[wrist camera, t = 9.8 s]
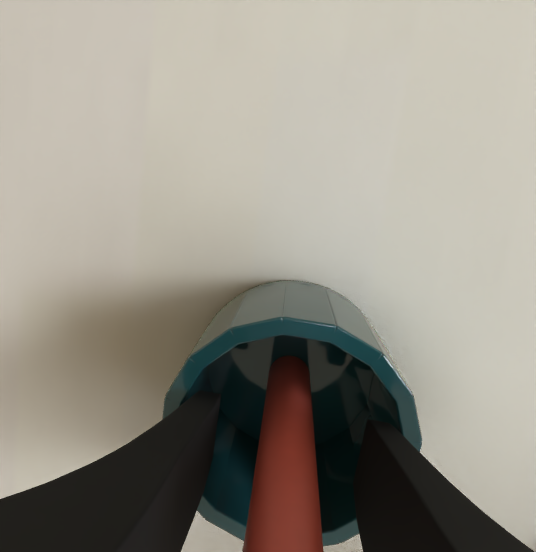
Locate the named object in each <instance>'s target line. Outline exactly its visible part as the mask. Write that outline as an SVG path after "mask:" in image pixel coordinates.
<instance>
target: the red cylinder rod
mask: <svg viewBox="0 0 536 552" xmlns="http://www.w3.org/2000/svg"><path fill="white" fill-rule="evenodd" d="M243 552H323V539H322V527H321V514H320V501H319V488H318V476H317V463H316V450H315V437H314V424H313V412H312V399H311V386H310V373H309V369H308V367H307V365H306V364H305V362H304V361H302V360H301V359H299V358H298V357H295V356H283V357H280V358H278V359H277V360H275V361H274V362H273V364H272V365H271V367H270V370H269V377H268V383H267V390H266V397H265V404H264V410H263V417H262V424H261V431H260V438H259V444H258V451H257V458H256V465H255V472H254V478H253V485H252V492H251V499H250V505H249V512H248V519H247V526H246V533H245V539H244V546H243Z"/></svg>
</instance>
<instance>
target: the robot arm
mask: <svg viewBox="0 0 536 552" xmlns="http://www.w3.org/2000/svg"><path fill="white" fill-rule="evenodd" d="M220 399H221V394H218V393H212V392H206V391H198V392H197V393H195V394H194V395H193V396H192V397H190V398H189V399H188V400H187V401H186V402H184V403H183V404H182V405H181V406H180V407H178V408H177V409H176V410H175V411H173V412H172V413H171V414H169V415H168V416H167V417H165V418H164V419H163V420H161V421H160V422H159V423H157V424H156V425H155V426H153V427H152V428H150V429H149V430H147V431H146V432H144V433H143V434H141V435H140V436H138V437H137V438H135V439H134V440H132V441H131V442H129V443H128V444H126V445H124V446H123V447H121V448H119V449H117V450H116V451H114V452H112V453H110V454H108V455H106V456H104V457H103V458H101V459H99V460H97V461H95V462H93V463H91V464H89V465H86V466H84V467H82V468H80V469H77V470H75V471H73V472H70V473H68V474H66V475H64V476H61V477H59V478H57V479H55V480H52V481H50V482H47V483H45V484H42V485H39V486H37V487H34V488H31V489H29V490H26V491H23V492H20V493H17V494H14V495H11V496H8V497H5V498H2V499H0V552H181V549H182V547H183V544H184V542H185V539H186V537H187V534H188V531H189V529H190V526H191V524H192V521H193V519H194V516H195V513H196V511H197V508H198V506H199V503H200V500H201V498H202V495H203V492H204V489H205V485H206V481H207V478H208V474H209V470H210V466H211V462H212V459H213V452H214V444H215V437H216V429H217V422H218V414H219V407H220ZM353 488H354V500H355V509H356V519H357V524H358V529H359V534H360V539H361V543H362V548H363V552H534V551H533V550H531V549H530V548H529V547H527V546H526V545H525V544H523V543H522V542H521V541H519V540H518V539H517V538H515V537H514V536H513V535H512V534H510V533H509V532H508V531H506V530H505V529H504V528H503V527H501V526H500V525H499V524H498V523H496V522H495V521H494V520H492V519H491V518H490V517H489V516H488V515H486V514H485V513H484V512H483V511H482V510H480V509H479V508H478V507H477V506H476V505H475V504H473V503H472V502H471V501H470V500H469V499H468V498H467V497H466V496H464V495H463V494H462V493H461V492H460V491H459V490H458V489H457V488H456V487H454V486H453V485H452V484H451V483H450V482H449V481H448V480H447V479H446V478H445V477H444V476H443V475H442V474H441V473H440V472H439V471H438V470H437V469H436V468H435V467H434V466H433V465H432V464H431V463H430V462H429V461H428V460H427V459H426V458H425V457H424V456H423V455H422V454H421V453H420V452H419V451H418V450H417V449H416V448H415V447H414V446H413V445H412V444H411V443H410V442H409V441H408V440H407V439H406V438H405V437H404V436H403V435H402V434H401V433H400V432H399V431H398V430H397V429H396V428H395V427H394V426H393V425H391V424H390V423H387V422H381V421H375V420H369V419H367V424H366V428H365V432H364V437H363V441H362V446H361V450H360V454H359V459H358V463H357V468H356V472H355V476H354V481H353Z"/></svg>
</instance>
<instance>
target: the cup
mask: <svg viewBox="0 0 536 552" xmlns="http://www.w3.org/2000/svg"><path fill="white" fill-rule="evenodd" d="M283 356H295V357H298V358H299V359H301V360H302V361H304V362H305V364H306V365H307V367H308V369H309V373H310V386H311V399H312V412H313V424H314V437H315V450H316V463H317V476H318V488H319V501H320V514H321V527H322V539H323V546H329V545H336V544H339V543H343V542H344V541H346V540H348V539H350V538H352V537H354V536H356V535H358V534H359V529H358V524H357V519H356V509H355V500H354V488H353V481H354V476H355V472H356V468H357V463H358V459H359V454H360V450H361V446H362V441H363V437H364V432H365V428H366V424H367V419H369V420H375V421H381V422H387V423H390V424H391V425H393V426H394V427H395V428H396V429H397V430H398V431H399V432H400V433H401V434H402V435H403V436H404V437H405V438H406V439H407V440H408V441H409V442H410V443H411V444H412V445H413V446H414V447H415V448H416V449H417V450H418V451H419V452H420V449H421V445H422V436H421V431H420V426H419V420H418V415H417V410H416V405H415V400H414V396H413V394H412V391H411V390H410V388H409V386H408V384H407V383H406V381H405V379H404V378H403V376H402V374H401V373H400V371H399V369H398V367H397V366H396V364H395V362H394V361H393V359H392V357H391V356H390V354H389V352H388V350H387V349H386V347H385V345H384V344H383V342H382V340H381V338H380V337H379V336H378V334H377V333H376V331H375V330H374V329H373V327H372V326H371V324H370V323H369V321H368V319H367V318H366V317H365V316H364V315H363V313H362V312H361V311H360V310H359V309H358V307H356V306H355V305H354V304H353V303H352V302H350V301H349V300H348V299H346V298H345V297H343V296H342V295H340V294H338V293H337V292H335V291H333V290H331V289H329V288H326V287H323V286H320V285H318V284H313V283H309V282H303V281H277V282H271V283H266V284H263V285H259V286H256V287H254V288H252V289H249V290H247V291H245V292H243V293H242V294H240V295H238V296H237V297H235V298H234V299H233V300H231V301H230V302H229V303H228V304H227V305H225V307H224V308H223V309H221V310H220V311H219V312H218V313H217V314H216V315H215V317H214V319H213V320H212V322H211V323H210V325H209V326H208V328H207V329H206V331H205V332H204V334H203V335H202V337H201V338H200V340H199V341H198V343H197V344H196V346H195V347H194V349H193V350H192V352H191V354H190V355H189V357H188V358H187V360H186V361H185V363H184V365H183V367H182V368H181V370H180V372H179V373H178V375H177V377H176V378H175V380H174V382H173V383H172V385H171V387H170V388H169V390H168V392H167V393H166V397H165V399H164V409H163V419H164V418H165V417H167V416H168V415H169V414H171V413H172V412H173V411H175V410H176V409H177V408H178V407H180V406H181V405H182V404H183V403H184V402H186V401H187V400H188V399H189V398H190V397H192V396H193V395H194V394H195V393H197V392H198V391H206V392H212V393H218V394H221V399H220V407H219V414H218V422H217V429H216V437H215V444H214V452H213V459H212V462H211V466H210V470H209V474H208V478H207V481H206V485H205V489H204V492H203V495H202V498H201V500H200V503H199V506H198V508H197V511H198V512H199V513H200V514H201V515H202V517H203V518H205V519H206V520H207V521H209V522H210V523H212V524H214V525H216V526H218V527H219V528H221V529H223V530H225V531H226V532H228V533H230V534H232V535H234V536H235V537H237V538H239V539H241V540H243V541H244V539H245V533H246V526H247V519H248V512H249V505H250V499H251V492H252V485H253V478H254V472H255V465H256V458H257V451H258V444H259V438H260V431H261V424H262V417H263V410H264V404H265V397H266V390H267V383H268V377H269V370H270V367H271V365H272V364H273V362H274V361H275V360H277V359H278V358H280V357H283ZM163 419H162V420H163Z"/></svg>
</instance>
